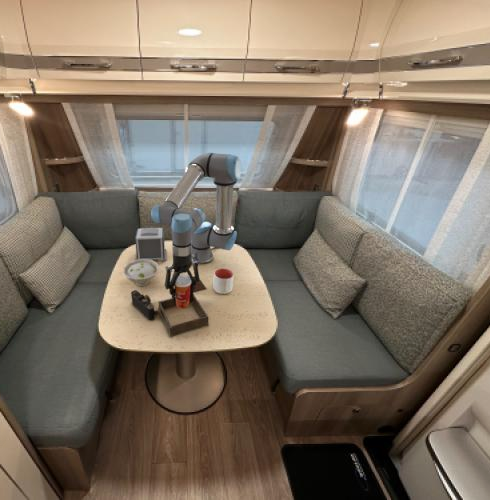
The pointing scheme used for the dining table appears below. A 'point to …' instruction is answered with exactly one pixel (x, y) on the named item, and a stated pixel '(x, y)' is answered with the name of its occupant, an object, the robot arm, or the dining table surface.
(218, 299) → the dining table surface
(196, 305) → the wooden tray
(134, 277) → the bowl
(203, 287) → the coaster mat
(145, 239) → the grey speaker box
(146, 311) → the camera
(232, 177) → the robot arm
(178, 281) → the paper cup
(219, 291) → the cup
